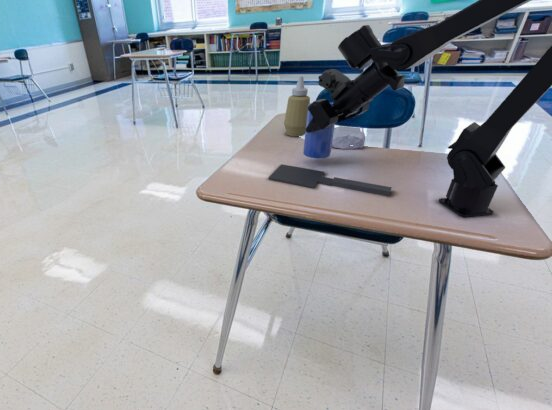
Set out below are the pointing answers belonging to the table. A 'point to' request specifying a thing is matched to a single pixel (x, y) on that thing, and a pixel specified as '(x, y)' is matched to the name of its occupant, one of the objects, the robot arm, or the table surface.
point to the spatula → (322, 180)
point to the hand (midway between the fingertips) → (314, 127)
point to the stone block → (348, 138)
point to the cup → (318, 141)
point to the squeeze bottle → (297, 110)
